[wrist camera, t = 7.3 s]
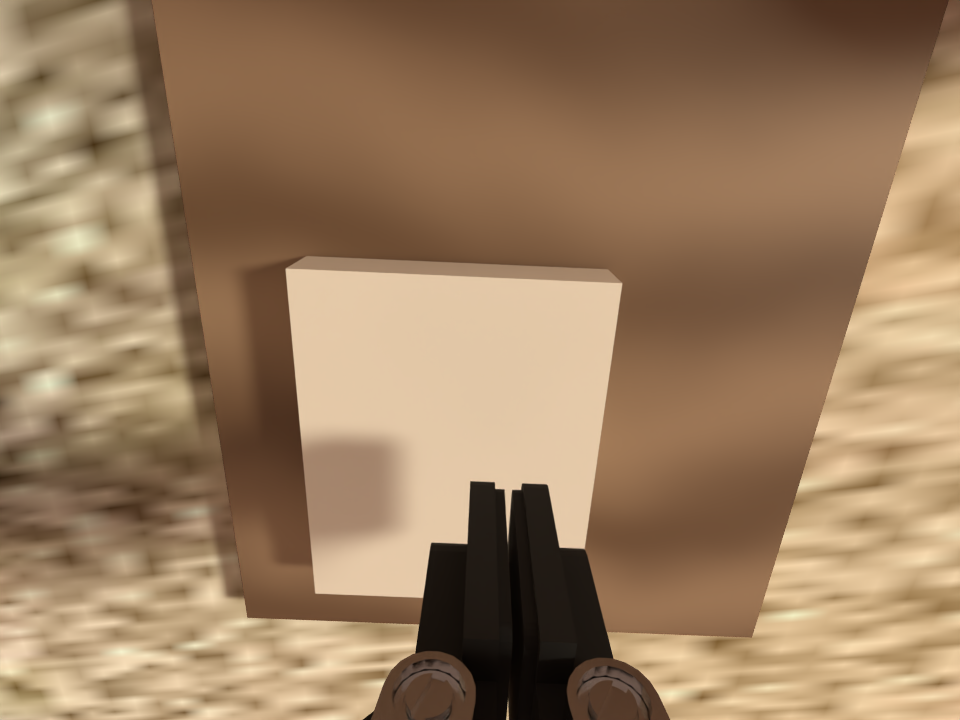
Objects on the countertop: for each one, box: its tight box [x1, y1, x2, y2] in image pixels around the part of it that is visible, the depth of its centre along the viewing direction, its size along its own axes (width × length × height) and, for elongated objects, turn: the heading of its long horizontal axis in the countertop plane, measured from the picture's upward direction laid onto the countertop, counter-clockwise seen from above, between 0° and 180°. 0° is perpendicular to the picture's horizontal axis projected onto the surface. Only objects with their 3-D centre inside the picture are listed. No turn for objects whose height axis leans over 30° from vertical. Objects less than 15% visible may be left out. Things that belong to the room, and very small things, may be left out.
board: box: [152, 0, 948, 638], centre depth 15 cm, size 26×18×1 cm
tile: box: [286, 256, 622, 598], centre depth 15 cm, size 10×2×8 cm
